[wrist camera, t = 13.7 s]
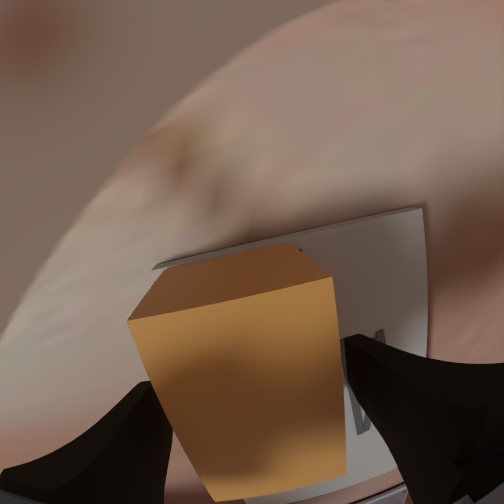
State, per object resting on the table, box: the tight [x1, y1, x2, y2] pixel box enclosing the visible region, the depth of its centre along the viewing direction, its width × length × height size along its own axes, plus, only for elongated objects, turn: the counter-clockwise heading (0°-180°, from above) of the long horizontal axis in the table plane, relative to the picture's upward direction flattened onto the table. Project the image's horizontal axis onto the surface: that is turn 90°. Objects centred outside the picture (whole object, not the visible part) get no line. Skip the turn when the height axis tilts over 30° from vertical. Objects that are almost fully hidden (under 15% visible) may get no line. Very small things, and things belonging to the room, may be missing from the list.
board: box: [151, 207, 428, 504], centre depth 14 cm, size 18×12×1 cm, turn 12°
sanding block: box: [127, 242, 346, 502], centre depth 10 cm, size 8×5×5 cm, turn 12°
